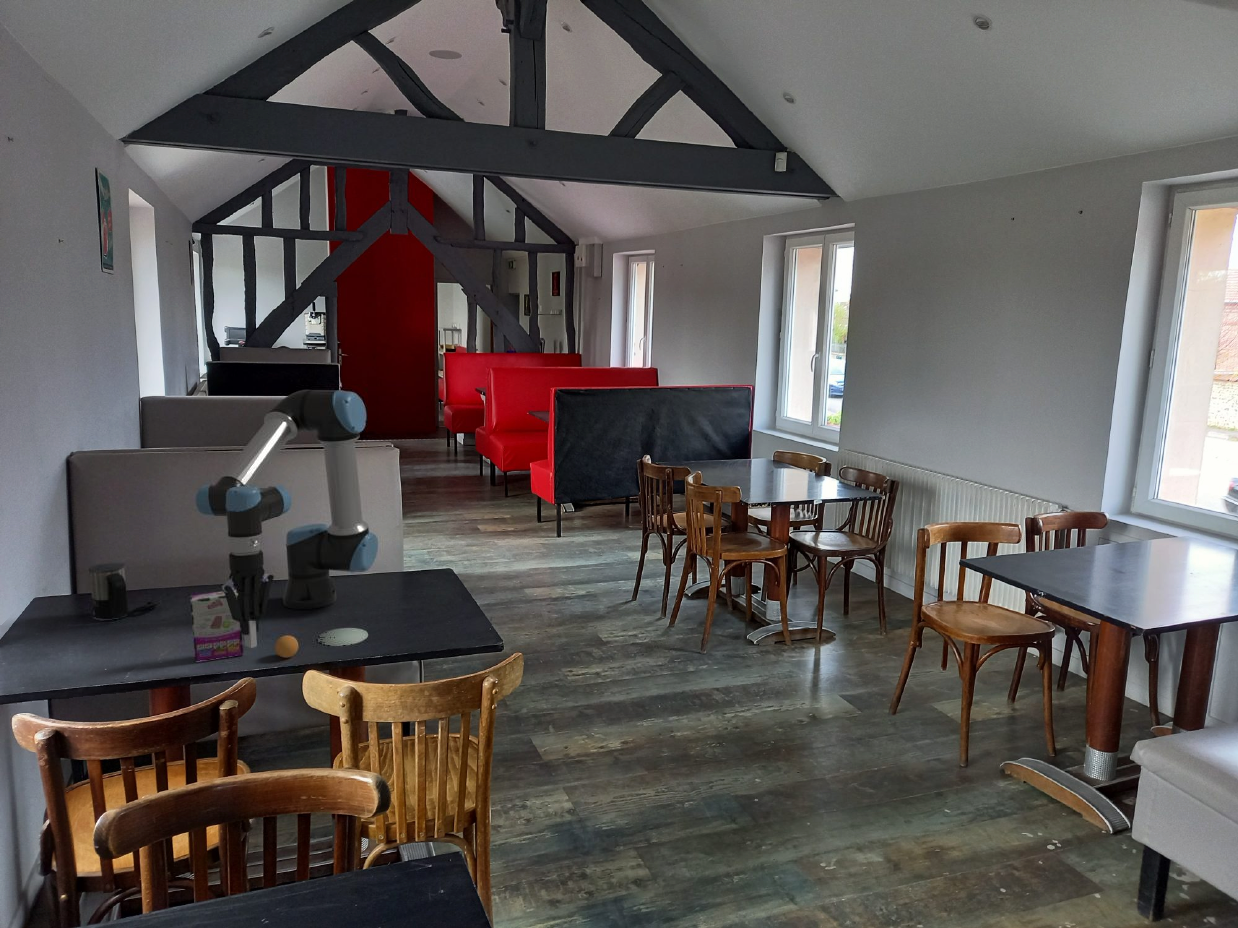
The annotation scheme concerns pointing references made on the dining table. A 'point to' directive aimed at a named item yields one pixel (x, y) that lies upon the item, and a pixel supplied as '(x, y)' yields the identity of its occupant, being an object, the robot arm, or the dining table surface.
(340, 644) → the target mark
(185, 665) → the dining table surface
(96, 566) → the milk frother
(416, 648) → the dining table surface
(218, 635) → the candy bar box
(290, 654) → the ball
